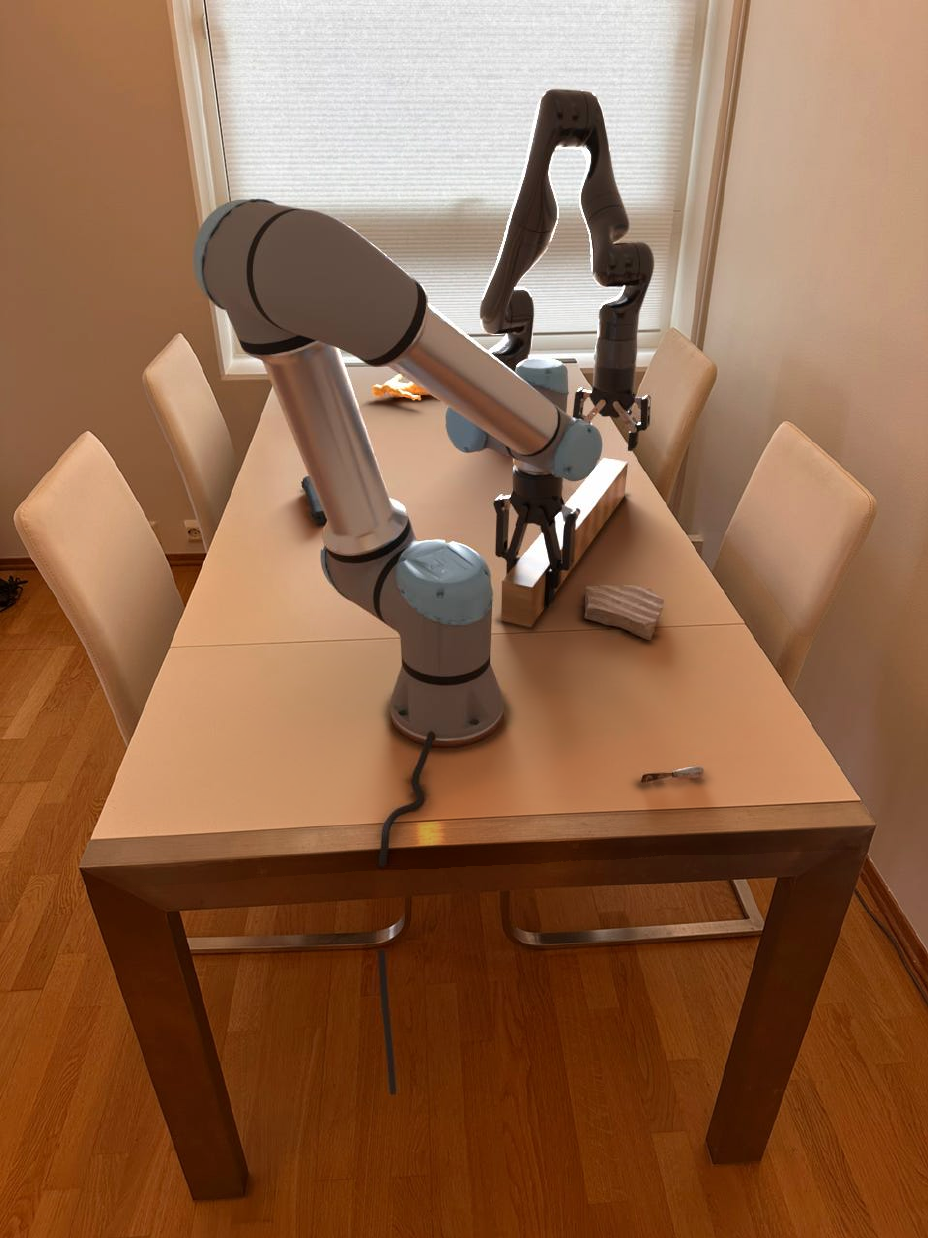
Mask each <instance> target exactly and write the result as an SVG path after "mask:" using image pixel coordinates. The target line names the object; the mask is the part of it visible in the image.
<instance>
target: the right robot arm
mask: <svg viewBox="0 0 928 1238" xmlns="http://www.w3.org/2000/svg"><path fill="white" fill-rule="evenodd" d="M557 149H570V150H571V149H573V150H574V149H575V150H579V149H580V150H581V151H582V153H583V155H584V157H585V160H586V169H585V173H584V176H583V179H582V181H581V185H580V190H579V206H580V207H579V208H580V210H581V214H582V217H583V219H584V222H585V224H586V228H587V231H588V234H589V242H590V255H591V257H590V268H591V275H592V278H593V279H594V281H595V282H596V283H597V284H598V285H599V286H600V287H602V288H605V289H611V288H612V289H613V288H622V290H621V291H620V293H619V295H617V296H616V297H614V298H611V299H609V300H606V301H604V302H603V303H601V305H600V307H599V310H598V323H597V337H596V343H595V348H594V354H593V360H594V362H593V377H592V389H591V390H588V389H585V388H584V387H580V388H578V390H576V391H575V393H574V400H573V401H574V402H573V410H572V417H573V418H576V419H579V418H580V419H583V420H584V421H585V422H586V423H589V424H591V425H593V423H592V420H593V419H594V418H595V417H596V416H597V415H598V414H599V415H601V417H603V418H604V417H605V418H608V417H611V418H613V419H619V418H621V421H623V423H624V424H626V426H627V427H628V429H629V430H630V431H629V432H628V443H627V451H628V452H633V450H634V449H636V448H637V446H638V444H639V435H640V432H641V431H646V430H647V429H648V428H649V427H650V425H651V407H652V406H651V405H652V403H651V402H652V397H651V395H649V394H646V395H645V396H636V394H635V383H636V372H637V362H638V361H637V359H638V334H639V332H638V331H639V320H640V319H639V318H640V313H641V309H642V306H643V303H644V300H645V298H646V294H647V291H648V289H649V286H650V284H651V282H652V278H653V275H654V269H655V256H654V252H653V250H652V248H651V246H650V245H649V244H648V243H647V242H644V241H630V242H629V241H628V242H619V241H621V240H623V239H624V238H625V237H626V235H627V234H628V233H629V230H630V219H629V216H628V213H627V211H626V206H625V205H624V202H623V199H622V196H621V194H620V191H619V188H618V184H617V181H616V178H615V174H614V169H613V168H614V167H613V162H612V157H611V155H612V154H611V150H610V144H609V138H608V133H607V127H606V121H605V117H604V112H603V109H602V105H601V103H600V100H599V98H598V97H597V96H596V94H595V93H593V92H591V91H587V90H579V89H565V88H551V89H548V90H547V91H545V92H544V93H543V94H542V97H541V98H540V100H539V102H538V105H537V108H536V111H535V115H534V120H533V123H532V128H531V133H530V139H529V144H528V149H527V154H526V158H525V164H524V168H523V170H522V174H521V179H520V182H519V186H518V190H517V191H516V196H515V199H514V202H513V205H512V208H511V212H510V215H509V219H508V221H507V224H506V230H505V232H504V237H503V241H502V244H501V247H500V250H499V253H498V256H497V260H496V263H495V266H494V268H493V270H492V273H491V276H490V277H489V280H488V283H487V285H486V288H485V290H484V293H483V295H482V298H481V302H480V308H479V322H480V326H481V328H482V330H483V331H484V332H485V333H486V334H488V335H492V336H498V335H499V336H501V335H504V337H503V338H502V340H500V342H498V343H497V344H495V345H494V346H493V347H491V348H489V350H488V352H489V353H491V354H492V355H493V356H494V357H496V358H497V359H498V360H499V361H501V362H502V363H503V364H504V365H506V366H507V367H508V368H509V369H511V370H512V371H513V372H514V373H515V372H516V366H517V365H518V364H519V363H520V362H521V361H523V360H526V359H530V355H531V352H532V347H533V346H532V344H533V334H534V322H535V303H534V300H533V297H532V294H531V293H530V291H529V290H528V289H527V288H525V287H519V286H518V284H519V283H520V281H521V280H522V278H524V276H525V275H526V274H527V273H528V272H529V271H530V270H531V269H532V268H533V267H534V266H535V264H537V263H538V261H539V260H540V259H541V258H542V257H543V256H544V254H545V253H546V251H547V250H548V249H549V247H550V243H551V241H552V238H553V235H554V233H555V229H556V226H557V224H558V219H559V206H558V201H557V198H556V194H555V191H554V188H553V184H552V181H551V174H550V171H551V165H552V160H553V156H554V154H555V152H556V150H557ZM517 286H518V287H517ZM588 399H590V401H591V403H592V404H593V408H592V409H591V410H590V411H589V412H588V414H587V415H585V414H583V413H584V404H585V402H586V401H587V400H588ZM634 404H636V406H637V408H638V409H639V410H640V420H639V421H640V422H639V421H638V419H637V417H636V415H635V412H634V411H633V408H632V406H633V405H634Z"/></svg>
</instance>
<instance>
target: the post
mask: <svg viewBox="0 0 928 1238" xmlns="http://www.w3.org/2000/svg"><path fill="white" fill-rule="evenodd" d="M628 466H629V461H624V460H618V459H612V458H605V457H603V458H602V460H601V461H600V462H599V463H598V464H597V466H596V467H595V469H594V470H593V471H592V472H591V473H590V474H589V475H588V476H587V477H586V478H585V480H584V481H583V482H582V484H581V485H580V486H579V487H578V489H577V490H576V491H575V492H574V493H573V494H572V496H571V497H570V498H569V499H568V501H567V502H566V503H564V505H566V506H568V507H570V508H572V509H574V508H576V507H577V508H579V509H580V514H579V516H578V519H577V521H576V532H575V551H574V563H573V564H572V565H571V567H570V568H569V570H567V571H565V570H561V583H560V585H559V586H558V588H557V589H555V592H554V595H555V594H556V592H557V591H558V590H559V589H560V587H561V585H562V584H563V583H564V581H565V580H566V579H567V577H568V575H569V574H570V573H571V572H572V570H573V569H574V567H575V566H576V564H577V563H578V561H579V560H580V559H581V557H582V556H583V555H584V553H585V552H586V550H587V549H588V548H589V546H590V545H591V543H592V542H593V540H594V539H595V538H596V536H597V535H598V533H599V532H600V530H601V529H602V528H603V527H604V525H605V524H606V522H607V521H608V519H610V517H611V515H612V514H613V513H614V511H615V510H616V508H617V507H618V505H620V503H621V502H622V500H623V499H624V497H625V495H626V487H627V478H628V477H627V475H628ZM562 517H563V515H562V513H561V512H559V513H558V514H557V515H556V516H555V521H556V526H555V527H556V532H557V537H558V541H559V546H560V551H561V556H562V550H563V529H564V524H565V522H564V521H563V519H562ZM520 558H521V559H520V560H519V561H518V562H517V564H516V565H515V566H514V567H513V568H512V570H511V571H510V572H509V573H508V574H507V576H506V575H505V577H504V578H503V579H502V580H501V604H500V605H501V607H500V608H501V609H500V618H501V619H500V621H502V622H505V623H510V624H514V625H519V626H523V627H526V628H532V626H533V625H534V623H535V622H536V620H537V619H538V618H539V616H540V615H541V614H542V612H543V611H544V610H545V608H546V607H544V599H545V579H546V571H547V569H548V568H549V567H550V563H549V559H548V554H547V549H546V545H545V540H544V536H543V533H542V532H541V533H540V535H538V537H537V538H536V539H535V541H534V542H532V544H531V545H530V547H529V548H528V549H527V550H526V552H524V553H523V554H522V556H521V557H520Z"/></svg>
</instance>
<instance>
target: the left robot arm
mask: <svg viewBox="0 0 928 1238" xmlns="http://www.w3.org/2000/svg"><path fill="white" fill-rule="evenodd" d="M192 265H193V271H194V275H195V278H196V281H197V283H198V286H199V288H200V289H201V291H202V292H203V294H204V295H205V296H206V297H207V298H208V299H209V300H210V301H211V303H212V304H214V305H215V306H216V307H217V308H219V309H221V310H224V311H225V312H226V314H227V317H228V319H229V321H230V324H231V326H232V329H233V331H234V333H235V336H236V338H237V340H238V342H239V345H240V347H241V349H242V352H243V353H245V354H246V355H247V356H250V357H252V358H255V359H257V360H260V361H261V362H262V364H263V367H264V369H265V371H266V373H267V376H268V379H269V382H270V384H271V387H272V388H273V391H274V394H275V396H276V398H277V401H278V404H279V406H280V408H281V410H282V413H283V416H284V418H285V421H286V423H287V426H288V428H289V430H290V432H291V435H292V437H293V440H294V442H295V445H296V447H297V450H298V452H299V455H300V457H301V460H302V463H303V464H304V467H305V468H306V473H307V474H308V476H309V477H310V479H311V482H312V484H313V487H314V489H315V492H316V494H317V497H318V499H319V501H320V504H321V506H322V509H323V511H324V514H325V516H326V519H327V522H326V523H325V525H324V526H323V529H322V532H321V538H322V543H323V547H322V548H321V549H320V555H319V556H320V558H319V559H320V565H321V570H322V573H323V575H324V577H325V579H326V580H327V582H328V583H329V584H330V585H331V586H332V587H333V588H334V590H335V591H336V592H337V593H338V594H339V595H340V596H342V597H343V598H344V599H346V600H347V601H350V602H352V603H353V604H355V605H357V606H358V607H359V608H361V609H363V611H366V613H369V614H370V615H371V616H373V617H375V618H376V619H378V620H379V621H380V622H382V623H383V624H385V625H386V626H388V627H389V628H391V629H392V630H394V631H395V632H396V633H397V634H398V635H399V638H400V639H399V640H400V655H401V667H400V669H399V672H398V675H397V678H396V681H395V684H394V687H393V690H392V693H391V696H390V704H389V705H390V718H391V721H392V724H393V725H394V727H395V728H396V729H397V731H398V732H399V733H400V734H402V735H403V736H404V737H406V738H407V739H409V740H411V741H413V742H415V743H417V744H420V745H421V744H422V745H423V747H422V750H421V753H420V756H419V758H418V761H417V763H416V765H415V766H414V770H413V772H412V775H411V781H410V782H411V789H412V791H413V792H414V795H416V800H415V801H413V803H410V804H407V805H404V806H401V807H398V808H396V809H395V810H393V811H392V812H391V813H390V814H389V816H388V817H387V818H386V820H385V821H384V823H383V825H382V829H381V838H380V848H379V856H378V862H377V863H378V867H379V868H384V867H385V866H387V861H388V855H389V847H390V845H389V844H390V832H391V829H392V826H393V824H394V822H395V821H396V820H397V819H398V818H399V817H401V816H404V815H406V814H410V813H412V812H415V811H417V810H419V809H420V808H421V807H422V806H423V805H424V804H425V800H426V796H425V792H424V790H423V789H422V788H421V786H420V783H419V782H420V777H421V774H422V771H423V769H424V766H425V764H426V762H427V759H428V756H429V754H430V750H431V747H437V748H454V747H455V748H457V747H463V746H467V745H471V744H473V743H476V742H480V741H481V740H483V739H485V738H486V737H488V736H489V735H491V734H492V733H493V732H494V731H495V730H496V729H498V727H499V726H500V724H501V722H502V720H503V717H504V697H503V693H502V690H501V687H500V685H499V682H498V679H497V677H496V674H495V672H494V668H493V666H492V664H491V654H492V653H491V651H492V649H491V648H492V624H493V623H492V620H493V619H492V618H493V601H494V600H493V599H494V591H493V586H492V577H491V571H490V567H489V565H488V563H487V562H486V560H485V559H484V557H483V556H481V555H480V553H479V552H477V551H476V550H475V549H473V548H471V547H469V546H467V545H465V544H462V543H460V542H456V541H451V542H446V541H445V540H444V539H428V540H422V541H419V539H418V538H417V537H416V535H415V532H414V529H413V526H412V523H411V519H410V518H409V514H408V511H407V510H406V507H405V506H404V505H403V504H402V503H400V502H399V501H398V500H395V499H393V498H390V494H389V492H388V491H389V490H388V488H387V486H386V482H385V480H384V478H383V474H382V471H381V468H380V465H379V462H378V458H377V456H376V454H375V450H374V447H373V444H372V442H371V439H370V435H369V432H368V430H367V427H366V423H365V420H364V418H363V415H362V413H361V410H360V407H359V403H358V401H357V398H356V395H355V392H354V389H353V385H352V383H351V380H350V377H349V373H348V370H347V368H346V365H345V363H344V360H343V356H342V354H341V351H343V352H346V353H347V354H351V355H352V356H354V357H355V358H357V359H359V360H360V361H362V362H363V363H365V364H366V365H368V366H369V367H373V368H382V367H388V368H390V369H391V370H392V371H394V372H396V373H397V374H400V375H402V378H404V379H407V380H408V381H409V382H410V381H411V382H412V383H414V384H415V385H417V386H418V387H420V388H421V389H423V390H424V391H426V392H427V393H429V394H428V395H430V396H432V397H433V398H435V399H436V400H438V401H439V402H440V403H442V404H444V405H445V406H447V408H446V412H445V417H444V418H445V431H446V433H447V437H448V438H449V441H450V442H451V443H452V445H453V446H454V447H455V449H456V450H458V451H460V452H462V453H465V454H471V453H475V452H476V453H477V452H478V453H480V452H482V451H483V450H485V449H490V450H491V451H492V450H493V451H495V452H498V453H499V454H502V455H504V456H507V457H510V458H511V459H512V463H513V467H512V485H511V486H512V491H511V493H510V494H509V495H505V494H502V493H501V494H500V495H499V496H498V497H496V499H494V500H493V502H492V505H493V508H494V511H495V514H496V515H495V517H496V520H495V546H494V547H495V548H494V549H495V550H494V555H495V556H496V557H497V558H502V559H504V560H505V562H506V565H505V567H506V568H505V569H506V571H505V572H506V573H505V577H506V576H507V574H508V573H509V572H510V571H511V570H512V568H513V567H514V566H515V565H516V564H517V562H518V561H519V560H520V559H521V557H519V555H520V550H521V546H522V544H523V541H524V538H525V534H526V532H527V528H528V525H531V524H534V525H536V526H539V528H540V532H541V533H543V536H544V540H545V545H546V549H547V554H548V559H549V563H550V567H549V568H548V569H547V571H546V579H545V599H544V607H545V608H550V606H551V605H552V603H553V602H554V601H555V594H554V592H555V589H557V588H558V586H559V585H560V583H561V570H565V571H567V570H569V568H570V567H571V565H572V564H573V563H574V551H575V532H576V521H577V519H578V516H579V514H580V509H579V508H577V507H576V508H574V509H572V508H570V507H568V506H566V505H565V500H564V499H563V495H562V492H563V482H564V481H563V480H567V481H569V482H579V481H582V480H584V479H587V478H588V477H589V476H590V474H591V473H592V472H593V471H594V470H595V468H596V467H597V466H596V465H598V462H599V461H600V458H601V457H602V453H603V438H602V435H601V431H600V430H599V429H598V428H597V427H596V426H595V425H593V424H592V423H590V424H589V423H586V422H585V421H584V420H583V419H580V418H579V419H576V418H573V416H572V415H569V414H568V413H567V410H568V396H569V393H570V392H569V371H568V368H567V366H566V365H565V363H564V362H561V361H559V360H556V359H554V358H547V357H533V358H532V357H531V358H529V359H526V360H523V361H521V362H520V363H519V364H518V365H517V366H516V372H515V373H514V372H513V371H512V370H511V369H509V368H508V367H507V366H506V365H504V364H503V363H502V362H501V361H499V360H498V359H497V358H496V357H494V356H493V355H492V354H491V353H489V350H487V349H486V348H484V346H482V345H481V344H479V342H477V341H476V340H474V338H472V337H471V336H469V334H467V333H466V332H465V331H463V330H462V329H461V328H460V327H458V326H457V325H456V324H454V323H453V321H451V320H450V319H449V318H447V316H445V315H444V314H442V313H441V312H440V311H438V310H437V309H436V308H435V307H433V306H432V305H431V304H430V303H429V299H428V294H427V291H426V289H425V287H424V286H423V285H422V284H421V283H420V282H419V281H418V280H417V279H415V278H414V277H413V276H412V275H411V274H409V273H408V272H407V271H406V270H404V269H403V268H402V267H401V266H400V265H399V264H397V263H396V262H395V261H394V260H393V259H392V258H390V256H388V255H387V254H385V253H384V252H383V251H382V250H381V249H380V248H379V247H377V246H376V245H374V244H373V243H372V242H371V241H370V240H369V239H367V238H366V237H365V236H363V235H362V234H360V233H359V232H358V231H357V230H356V229H354V228H353V227H351V226H349V225H348V224H346V223H345V222H344V221H342V220H340V219H338V218H336V217H335V216H333V215H330V214H328V213H326V212H323V211H322V212H321V211H318V210H314V209H306V208H300V207H293V206H289V205H283V204H277V203H276V202H274V201H272V200H269V199H265V198H250V199H249V198H248V199H245V198H244V199H243V198H241V199H235V200H230V201H227V202H225V203H223V204H221V205H220V206H218V207H217V208H215V209H214V210H213V211H212V212H211V213H210V214H209V215H208V216H207V217H206V218H205V220H204V221H203V222H202V224H201V226H200V228H199V230H198V233H197V236H196V240H195V241H194V244H193V252H192ZM591 424H592V425H591ZM511 506H512V508H513V509H514V511H515V512H516V514H517V518H516V522H515V527H514V529H513V530H514V531H513V534H512V537H511V540H510V543H509V530H510V529H509V527H510V508H511ZM559 512H561V513H562V515H563V517H562V519H563V521H564V522H565V524H564V529H563V550H562V556H561V551H560V546H559V541H558V537H557V532H556V527H555V526H556V521H555V517H556V515H557V514H558V513H559ZM560 586H561V585H560ZM558 589H559V588H558ZM555 593H556V592H555ZM386 961H387V957H386V951H385V950H381V949H377V965H378V980H379V981H378V982H379V992H380V993H379V994H380V1001H381V1002H380V1003H381V1004H380V1005H381V1013H382V1014H381V1015H382V1022H383V1035H384V1045H385V1056H386V1064H387V1077H388V1086H389V1087H388V1091H389V1095H391V1096H394V1095H396V1094H397V1082H396V1069H395V1056H394V1055H395V1054H394V1047H393V1046H394V1045H393V1044H394V1043H393V1036H392V1035H393V1034H392V1023H391V1014H390V1002H389V990H388V977H387V962H386Z"/></svg>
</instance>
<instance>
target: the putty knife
mask: <svg viewBox="0 0 928 1238" xmlns="http://www.w3.org/2000/svg"><path fill="white" fill-rule="evenodd" d="M704 772H705V771H704V768H702V767H701V766H697V765H695V766H688V767H683V768H679V769H675V770H673V771H671V772H653V773H652V772H651V773H650V772H649V773H644V774H642V776H641V779H640V783H642V784H645V783H648V782H653V781H659V780H665V779H668V778H673V779H674V778H675V779H693V778H694V779H695V778H700V777H702V776H703V775H704Z"/></svg>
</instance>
